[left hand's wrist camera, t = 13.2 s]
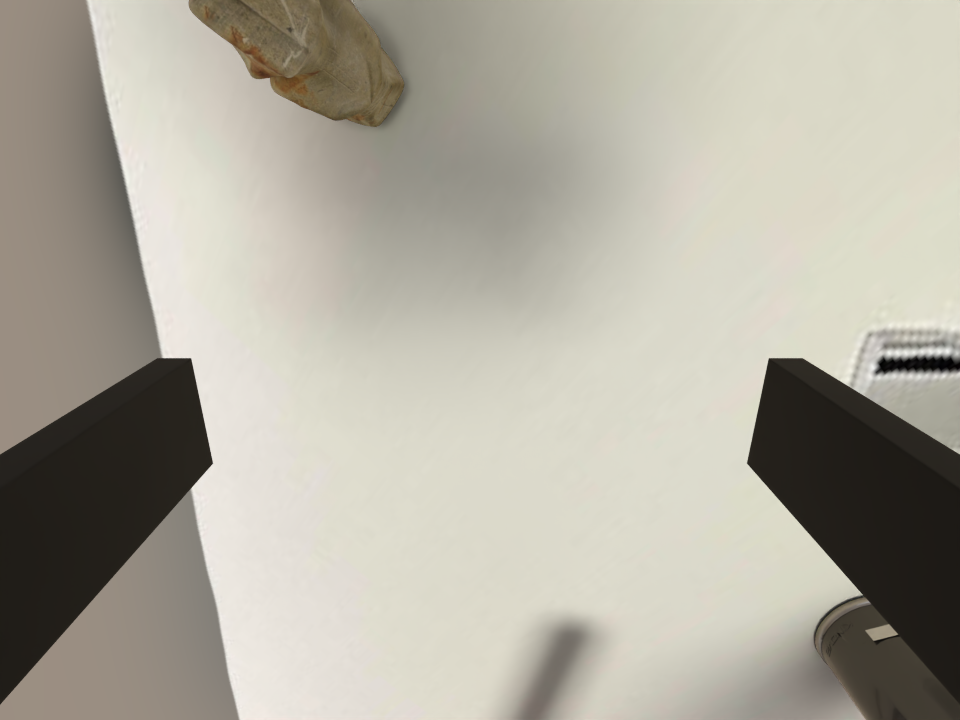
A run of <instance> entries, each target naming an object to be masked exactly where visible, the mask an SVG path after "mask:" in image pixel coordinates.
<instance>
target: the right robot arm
mask: <svg viewBox="0 0 960 720" xmlns="http://www.w3.org/2000/svg"><path fill="white" fill-rule="evenodd" d="M815 645H816V649H817V651H818V653H819V654H820V656H821V657H822V659H823V660H824V662H825V663H826V664H827V665H828V666H829V667H830V668H831V670H832V671H833V673H834V674H835V676H836V677H837V678H838V680H839V681H840V683H841V684H842V686H843V687H844V689H845V690H846V692H847V693H848V695H849V696H850V698H851V699H852V701H853V702H854V704H855V705H856V706H857V708H858V709H859V711H860V712H861V714H862V715H863V717H864V718H865V719H866V720H960V704H959V703H958V702H957V701H956V700H955V698H954V697H953V696H952V695H951V694H950V693H949V692H948V691H947V689H946V688H945V687H944V686H943V685H942V684H941V683H940V681H939V680H938V679H937V678H936V677H935V676H934V675H933V674H932V672H931V671H930V670H929V669H928V668H927V667H926V666H925V664H924V663H923V662H922V661H921V660H920V659H919V658H918V657H917V655H916V654H915V653H914V652H913V651H912V650H911V649H910V647H909V646H908V645H907V644H906V643H905V642H904V641H903V640H902V638H901V637H900V636H899V635H898V634H897V633H896V632H895V630H894V629H893V628H892V627H891V626H890V625H889V624H888V623H887V621H886V620H885V619H884V618H883V617H882V616H881V615H880V613H879V612H878V611H877V610H876V609H875V608H874V607H873V606H872V604H871V603H870V602H869V601H868V600H867V599H866V598H865V597H864V598H859V599H856V600H852V601H850V602H847V603H845V604H843V605H841V606H840V607H838V608H836V609H835V610H834V611H832V612H831V613H830V614H829V615H828V616H827V617H826V618H825V619H824V620H823V621H822V623H821V624H820V626H819V628H818V630H817V632H816V636H815Z"/></svg>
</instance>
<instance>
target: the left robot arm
mask: <svg viewBox="0 0 960 720" xmlns="http://www.w3.org/2000/svg"><path fill="white" fill-rule="evenodd" d="M212 464H213V461H212V457H211V452H210V447H209V442H208V437H207V433H206V428H205V423H204V418H203V413H202V408H201V404H200V399H199V394H198V389H197V384H196V380H195V375H194V370H193V365H192V360H191V358H157V359H156V360H154V361H152V362H151V363H149V364H147V365H146V366H144V367H142V368H141V369H139V370H138V371H136V372H134V373H133V374H131V375H129V376H128V377H126V378H125V379H123V380H121V381H120V382H118V383H116V384H115V385H113V386H112V387H110V388H108V389H107V390H105V391H103V392H102V393H100V394H98V395H97V396H95V397H94V398H92V399H90V400H89V401H87V402H85V403H84V404H82V405H80V406H79V407H77V408H76V409H74V410H72V411H71V412H69V413H67V414H66V415H64V416H62V417H61V418H59V419H58V420H56V421H54V422H53V423H51V424H49V425H48V426H46V427H45V428H43V429H41V430H40V431H38V432H36V433H35V434H33V435H31V436H30V437H28V438H27V439H25V440H23V441H22V442H20V443H18V444H17V445H15V446H14V447H12V448H10V449H9V450H7V451H5V452H4V453H2V454H0V704H1V703H2V702H3V701H4V700H5V698H6V697H7V696H8V695H9V694H10V693H11V692H12V691H13V689H14V688H15V687H16V686H17V685H18V684H19V683H20V681H21V680H22V679H23V678H24V677H25V676H26V675H27V674H28V672H29V671H30V670H31V669H32V668H33V667H34V666H35V664H36V663H37V662H38V661H39V660H40V659H41V658H42V657H43V655H44V654H45V653H46V652H47V651H48V650H49V649H50V647H51V646H52V645H53V644H54V643H55V642H56V641H57V639H58V638H59V637H60V636H61V635H62V634H63V633H64V632H65V630H66V629H67V628H68V627H69V626H70V625H71V624H72V623H73V621H74V620H75V619H76V618H77V617H78V616H79V615H80V613H81V612H82V611H83V610H84V609H85V608H86V607H87V606H88V604H89V603H90V602H91V601H92V600H93V599H94V598H95V596H96V595H97V594H98V593H99V592H100V591H101V590H102V589H103V587H104V586H105V585H106V584H107V583H108V582H109V581H110V579H111V578H112V577H113V576H114V575H115V574H116V573H117V572H118V570H119V569H120V568H121V567H122V566H123V565H124V564H125V562H126V561H127V560H128V559H129V558H130V557H131V556H132V554H133V553H134V552H135V551H136V550H137V549H138V548H139V547H140V545H141V544H142V543H143V542H144V541H145V540H146V539H147V538H148V536H149V535H150V534H151V533H152V532H153V531H154V530H155V528H156V527H157V526H158V525H159V524H160V523H161V522H162V521H163V519H164V518H165V517H166V516H167V515H168V514H169V513H170V511H171V510H172V509H173V508H174V507H175V506H176V505H177V504H178V502H179V501H180V500H181V499H182V498H183V497H184V496H185V495H186V493H187V492H188V491H189V490H190V489H191V488H192V487H193V485H194V484H195V483H196V482H197V481H198V480H199V479H200V478H201V476H202V475H203V474H204V473H205V472H206V471H207V470H208V468H209V467H210V466H211V465H212ZM747 464H748V465H749V466H750V467H751V468H752V470H753V471H754V472H755V473H756V474H757V475H758V476H759V478H760V479H761V480H762V481H763V482H764V483H765V484H766V485H767V487H768V488H769V489H770V490H771V491H772V492H773V493H774V495H775V496H776V497H777V498H778V499H779V500H780V501H781V502H782V504H783V505H784V506H785V507H786V508H787V509H788V510H789V512H790V513H791V514H792V515H793V516H794V517H795V518H796V519H797V521H798V522H799V523H800V524H801V525H802V526H803V527H804V528H805V530H806V531H807V532H808V533H809V534H810V535H811V536H812V538H813V539H814V540H815V541H816V542H817V543H818V544H819V545H820V547H821V548H822V549H823V550H824V551H825V552H826V553H827V555H828V556H829V557H830V558H831V559H832V560H833V561H834V562H835V564H836V565H837V566H838V567H839V568H840V569H841V570H842V572H843V573H844V574H845V575H846V576H847V577H848V578H849V579H850V581H851V582H852V583H853V584H854V585H855V586H856V587H857V589H858V590H859V591H860V592H861V593H862V594H863V595H864V596H865V598H866V599H867V600H868V601H869V602H870V603H871V604H872V606H873V607H874V608H875V609H876V610H877V611H878V612H879V613H880V615H881V616H882V617H883V618H884V619H885V620H886V621H887V623H888V624H889V625H890V626H891V627H892V628H893V629H894V630H895V632H896V633H897V634H898V635H899V636H900V637H901V638H902V640H903V641H904V642H905V643H906V644H907V645H908V646H909V647H910V649H911V650H912V651H913V652H914V653H915V654H916V655H917V657H918V658H919V659H920V660H921V661H922V662H923V663H924V664H925V666H926V667H927V668H928V669H929V670H930V671H931V672H932V674H933V675H934V676H935V677H936V678H937V679H938V680H939V681H940V683H941V684H942V685H943V686H944V687H945V688H946V689H947V691H948V692H949V693H950V694H951V695H952V696H953V697H954V698H955V700H956V701H957V702H958V703H959V704H960V454H958V453H956V452H955V451H953V450H951V449H950V448H948V447H947V446H945V445H943V444H942V443H940V442H938V441H937V440H935V439H933V438H932V437H930V436H929V435H927V434H925V433H924V432H922V431H920V430H919V429H917V428H915V427H914V426H912V425H911V424H909V423H907V422H906V421H904V420H902V419H901V418H899V417H898V416H896V415H894V414H893V413H891V412H889V411H888V410H886V409H884V408H883V407H881V406H880V405H878V404H876V403H875V402H873V401H871V400H870V399H868V398H867V397H865V396H863V395H862V394H860V393H858V392H857V391H855V390H853V389H852V388H850V387H849V386H847V385H845V384H844V383H842V382H840V381H839V380H837V379H835V378H834V377H832V376H831V375H829V374H827V373H826V372H824V371H822V370H821V369H819V368H818V367H816V366H814V365H813V364H811V363H809V362H808V361H806V360H804V359H803V358H769V360H768V365H767V370H766V375H765V380H764V384H763V389H762V394H761V399H760V404H759V408H758V413H757V418H756V423H755V428H754V433H753V437H752V442H751V447H750V452H749V457H748V461H747Z"/></svg>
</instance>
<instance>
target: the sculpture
mask: <svg viewBox="0 0 960 720" xmlns="http://www.w3.org/2000/svg"><path fill="white" fill-rule="evenodd" d="M189 8H190V10H191V11H192V13H193V14H194V15H195V16H196V17H197V18H198V19H199V20H201V21H202V22H203V23H204V24H205V25H207V26H208V27H209V28H211V29H212V30H213V31H214V32H216V33H217V34H218V35H220V36H221V37H222V38H224V39H225V40H227V41H228V42H229V43H231V44H232V45H233V46H234V48H235V49H236V50H237V51H238V53H239V54H240V56H241V57H242V59H243V60H244V62H245V64H246V67H247V69H248V71H249V73H250V75H251V76H252V77H253V78H255V79H264V78H270V82H271V87H272V89H273V90H274V92H276V93H277V94H279V95H280V96H282V97H284V98H286V99H288V100H290V101H292V102H294V103H296V104H298V105H299V106H301V107H303V108H306V109H309V110H312V111H314V112H316V113H319V114H321V115H323V116H325V117H328V118H330V119H332V120H343V119H348V120H350V121H353V122H356V123H359V124H362V125H366V126H371V127H377V126H379V125H380V124H381V123H382V122H383V120H384V119H385V118H386V117H387V115H388V114H389V112H390V111H391V110H392V108H393V107H394V105H395V104H396V102H397V100H398V98H399V97H400V95H401V93H402V91H403V88H404V82H403V79H402V77H401V75H400V74H399V72H398V70H397V68H396V66H395V65H394V64H393V62H392V61H391V59H390V58H389V56H388V55H387V54H386V53H385V51H384V50H383V49H382V48H381V45H380V41H379V38H378V37H377V35H376V33H375V32H374V30H373V29H372V28H371V27H370V25H369V24H368V23H367V22H366V21H365V19H364V18H363V17H362V16H361V14H360V13H359V11H358V10H357V9H356V7H355V6H354V5H353V3H352V2H351V0H189Z"/></svg>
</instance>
